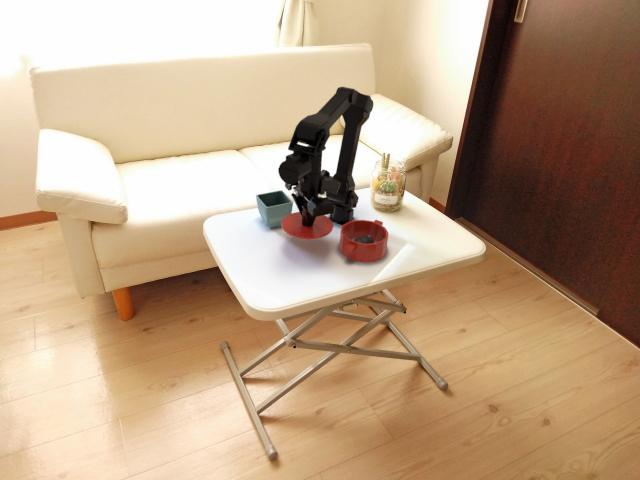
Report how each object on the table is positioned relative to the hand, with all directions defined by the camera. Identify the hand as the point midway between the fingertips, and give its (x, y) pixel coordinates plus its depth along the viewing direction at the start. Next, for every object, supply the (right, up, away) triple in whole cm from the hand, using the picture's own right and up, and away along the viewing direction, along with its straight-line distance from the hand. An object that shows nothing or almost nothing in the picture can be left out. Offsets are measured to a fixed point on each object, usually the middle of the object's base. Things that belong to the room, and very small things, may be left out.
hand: (307, 222), depth 124 cm
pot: (+16, -8, +7) cm, 19 cm away
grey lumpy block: (+16, -7, +6) cm, 18 cm away
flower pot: (-11, 0, +16) cm, 20 cm away
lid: (0, -1, +1) cm, 1 cm away
